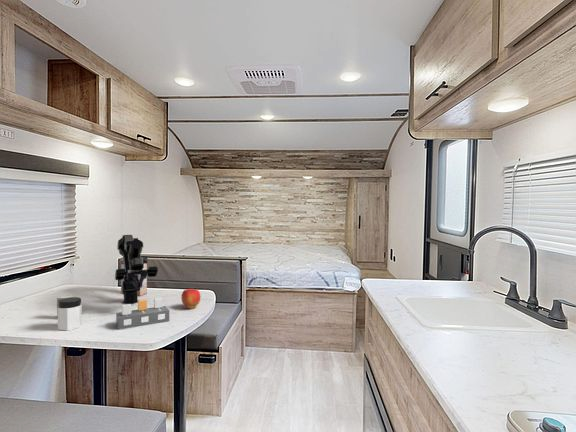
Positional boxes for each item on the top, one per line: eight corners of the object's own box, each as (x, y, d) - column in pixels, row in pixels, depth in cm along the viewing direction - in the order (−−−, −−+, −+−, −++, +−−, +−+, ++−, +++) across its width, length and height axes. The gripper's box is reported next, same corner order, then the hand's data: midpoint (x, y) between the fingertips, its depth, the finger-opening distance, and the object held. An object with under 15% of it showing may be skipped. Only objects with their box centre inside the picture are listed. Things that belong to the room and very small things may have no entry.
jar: (78, 322, 154) (78, 295, 153) (85, 326, 149) (85, 299, 148) (54, 327, 147) (54, 299, 147) (61, 332, 142) (61, 303, 141)
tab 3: (154, 307, 160) (154, 298, 160) (161, 306, 162) (161, 297, 162) (154, 308, 159) (154, 299, 158) (162, 307, 161) (162, 298, 160)
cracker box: (147, 293, 203) (147, 258, 202) (139, 296, 198) (139, 260, 197) (128, 291, 208) (128, 257, 207) (120, 293, 202) (120, 258, 201)
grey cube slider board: (116, 323, 153) (116, 312, 153) (165, 316, 164) (165, 305, 164) (118, 329, 146) (118, 317, 146) (169, 321, 157) (169, 310, 157)
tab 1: (121, 314, 150) (121, 305, 149) (130, 312, 152) (130, 303, 151) (122, 315, 148) (122, 306, 148) (131, 314, 150) (131, 304, 150)
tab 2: (137, 309, 156) (137, 300, 156) (146, 308, 158) (146, 299, 158) (138, 310, 155) (138, 301, 155) (146, 309, 157) (146, 300, 157)
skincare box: (74, 317, 161) (73, 295, 161) (66, 320, 157) (66, 298, 156) (64, 316, 162) (64, 295, 161) (56, 319, 157) (56, 297, 157)
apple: (200, 310, 174) (200, 290, 174) (180, 311, 172) (180, 291, 172) (200, 304, 183) (200, 286, 183) (182, 305, 181) (182, 286, 181)
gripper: (115, 252, 162) (118, 280, 153) (157, 249, 172) (162, 275, 163) (113, 266, 169) (116, 293, 160) (153, 263, 179) (158, 288, 170)
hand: (139, 287), depth 163 cm, fingers closed
